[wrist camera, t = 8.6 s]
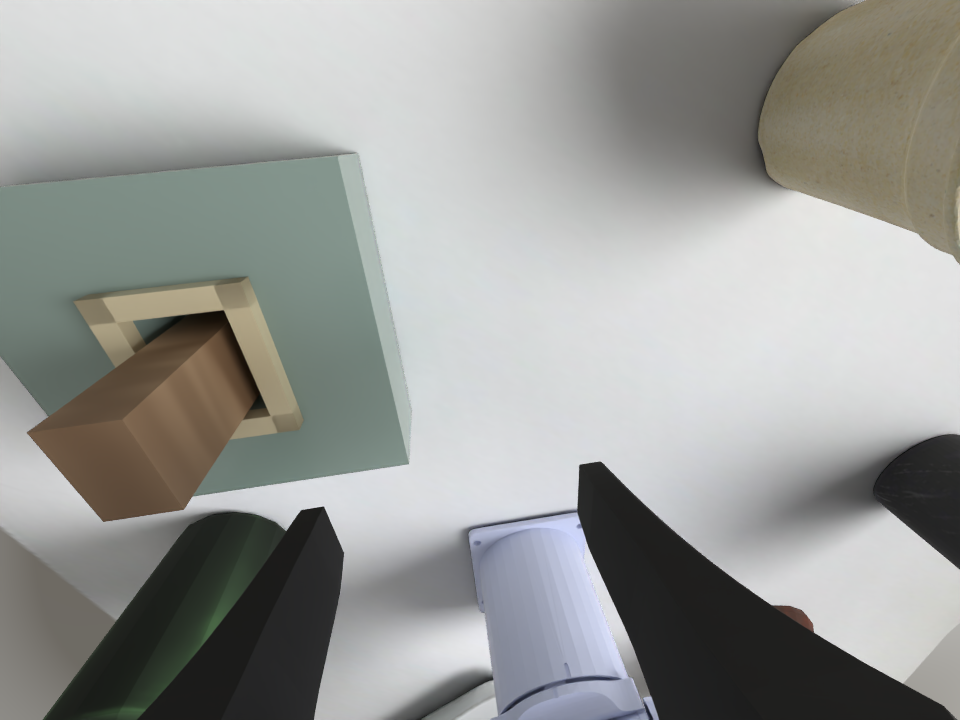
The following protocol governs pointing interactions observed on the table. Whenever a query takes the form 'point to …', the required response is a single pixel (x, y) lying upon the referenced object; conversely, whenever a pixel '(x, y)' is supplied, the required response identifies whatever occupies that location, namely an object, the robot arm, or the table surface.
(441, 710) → the salad plate
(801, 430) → the table surface
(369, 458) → the sage green square pedestal
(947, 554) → the travel mug
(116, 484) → the brown wooden block
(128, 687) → the potion bottle
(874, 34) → the flower pot
